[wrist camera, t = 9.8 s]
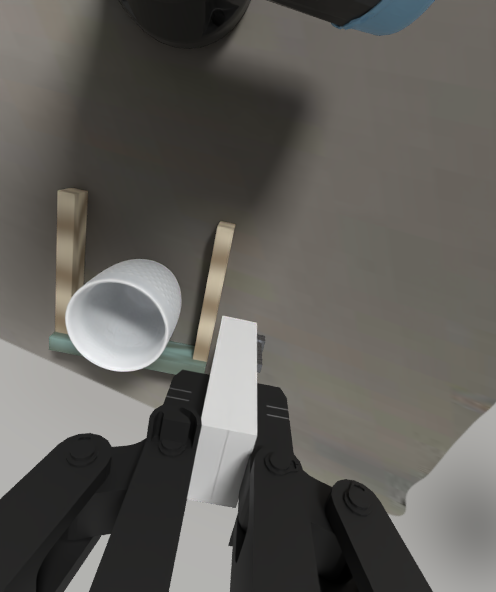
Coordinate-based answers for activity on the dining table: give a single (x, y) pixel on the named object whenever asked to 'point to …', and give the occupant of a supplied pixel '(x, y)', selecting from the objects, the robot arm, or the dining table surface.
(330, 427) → the dining table surface
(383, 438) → the dining table surface
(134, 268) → the mug
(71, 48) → the dining table surface
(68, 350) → the bay
